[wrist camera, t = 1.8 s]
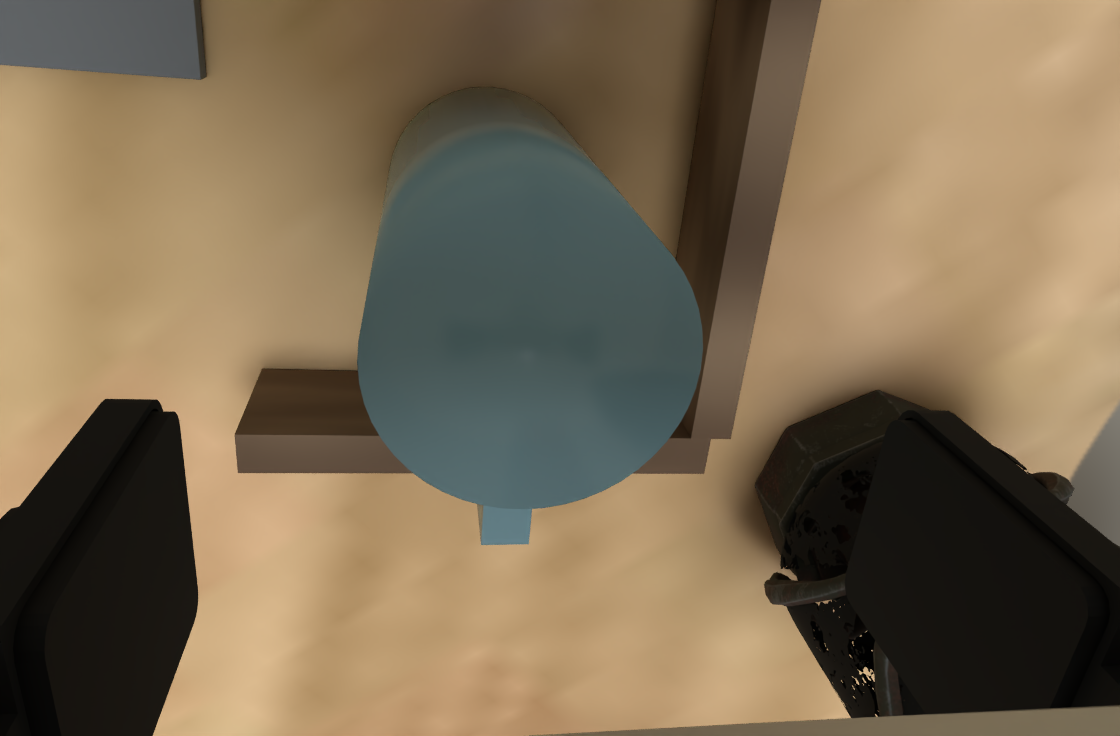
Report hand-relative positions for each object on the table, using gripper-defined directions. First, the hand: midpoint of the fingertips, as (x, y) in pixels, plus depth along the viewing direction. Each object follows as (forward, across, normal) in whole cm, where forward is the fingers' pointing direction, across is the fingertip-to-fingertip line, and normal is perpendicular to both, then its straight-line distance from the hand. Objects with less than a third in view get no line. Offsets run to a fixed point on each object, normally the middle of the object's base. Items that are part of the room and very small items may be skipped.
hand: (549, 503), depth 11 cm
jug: (+15, 0, 0) cm, 15 cm away
